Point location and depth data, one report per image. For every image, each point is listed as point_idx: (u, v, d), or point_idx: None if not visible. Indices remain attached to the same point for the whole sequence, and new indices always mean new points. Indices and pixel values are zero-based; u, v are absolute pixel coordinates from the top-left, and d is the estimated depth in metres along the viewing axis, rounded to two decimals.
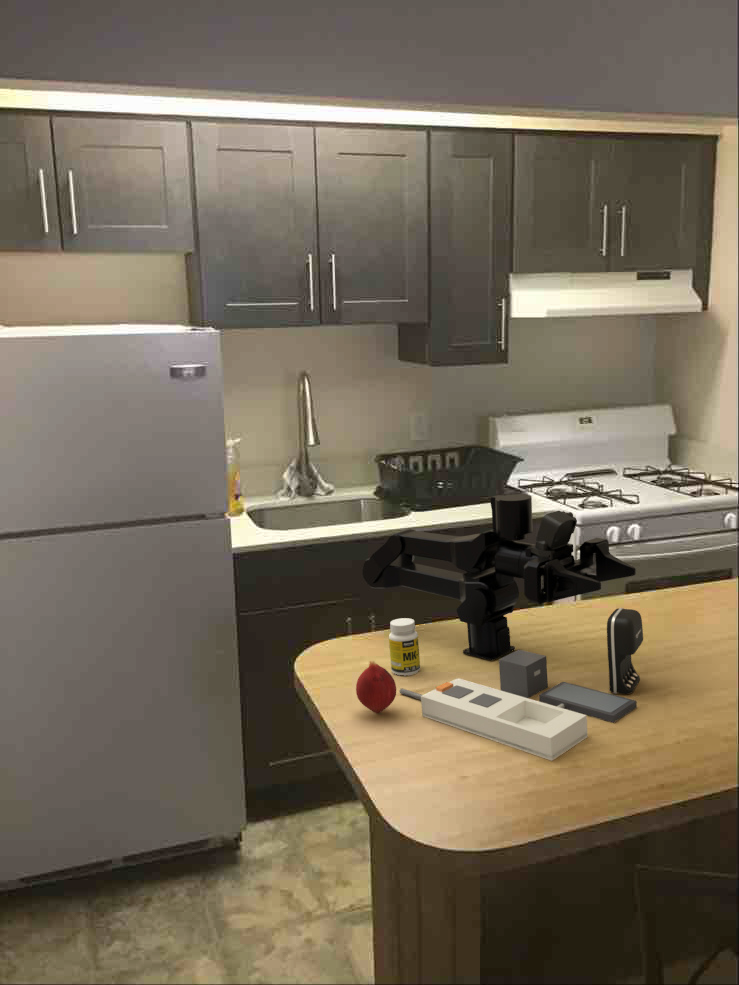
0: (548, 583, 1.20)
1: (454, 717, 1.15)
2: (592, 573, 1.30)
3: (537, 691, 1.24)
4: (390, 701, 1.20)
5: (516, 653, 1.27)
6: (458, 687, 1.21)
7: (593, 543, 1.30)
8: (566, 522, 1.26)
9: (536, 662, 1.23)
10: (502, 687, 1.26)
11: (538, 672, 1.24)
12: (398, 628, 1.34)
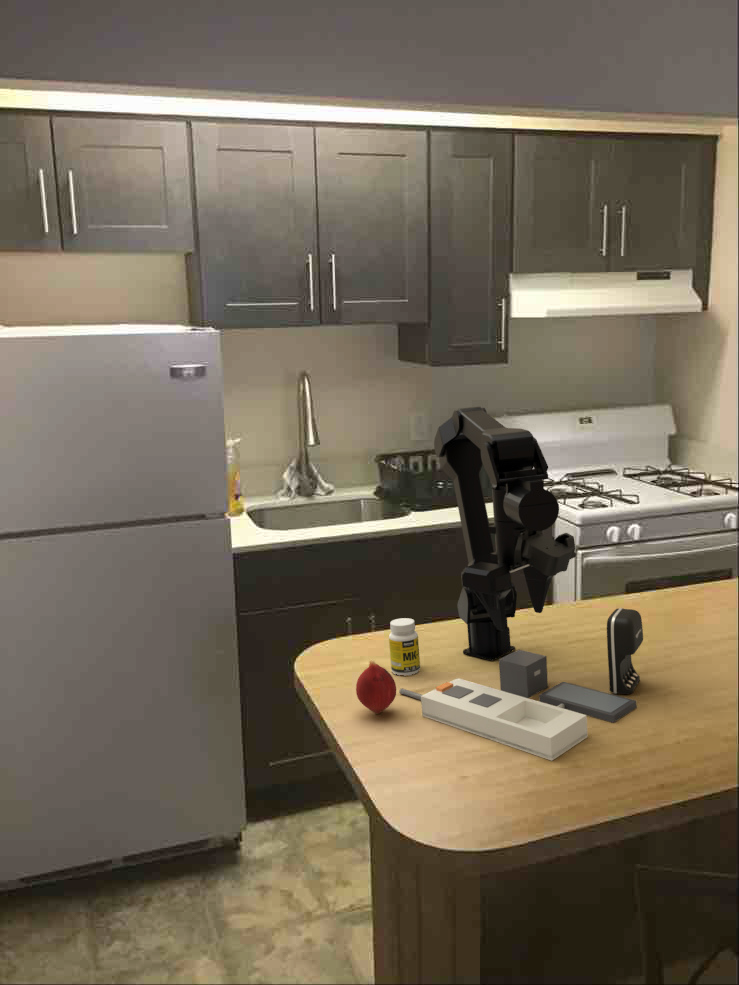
0: None
1: (454, 717, 1.15)
2: None
3: (537, 691, 1.24)
4: (390, 701, 1.20)
5: (516, 653, 1.27)
6: (458, 687, 1.21)
7: None
8: None
9: (536, 662, 1.23)
10: (502, 687, 1.26)
11: (538, 672, 1.24)
12: (398, 628, 1.34)
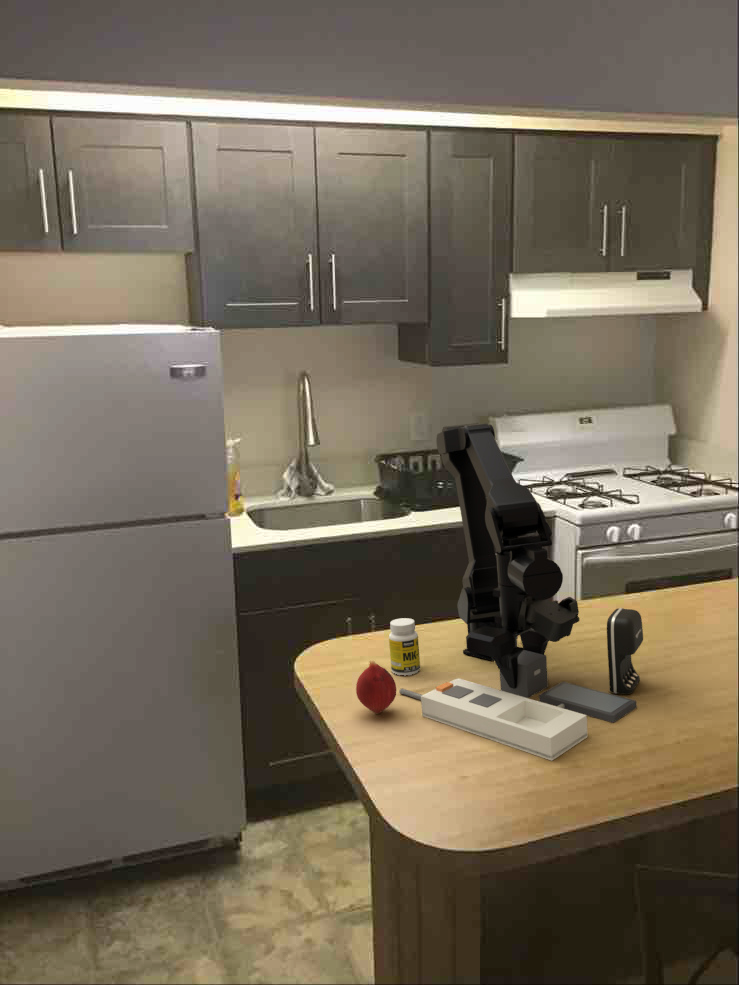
0: None
1: (454, 717, 1.15)
2: None
3: (537, 690, 1.24)
4: (390, 701, 1.20)
5: None
6: (458, 687, 1.21)
7: None
8: None
9: (536, 661, 1.23)
10: (502, 686, 1.26)
11: (538, 671, 1.24)
12: (398, 628, 1.34)
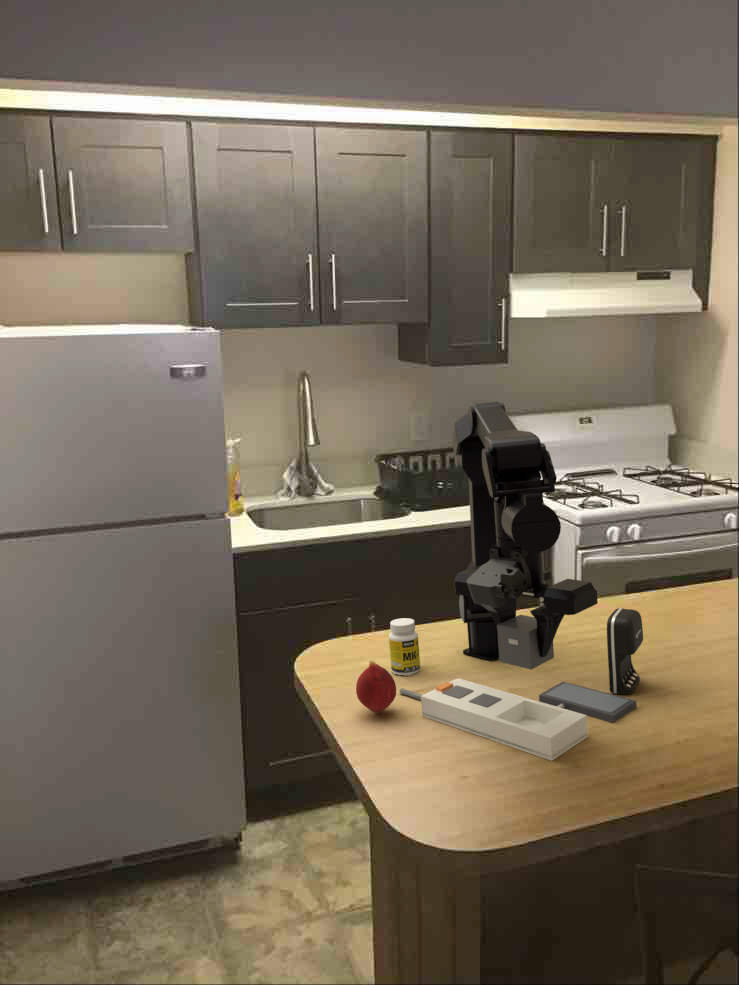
0: None
1: (454, 717, 1.15)
2: None
3: (513, 663, 1.07)
4: (390, 701, 1.20)
5: None
6: (458, 687, 1.21)
7: None
8: None
9: (512, 629, 1.07)
10: None
11: (515, 642, 1.07)
12: (398, 628, 1.34)
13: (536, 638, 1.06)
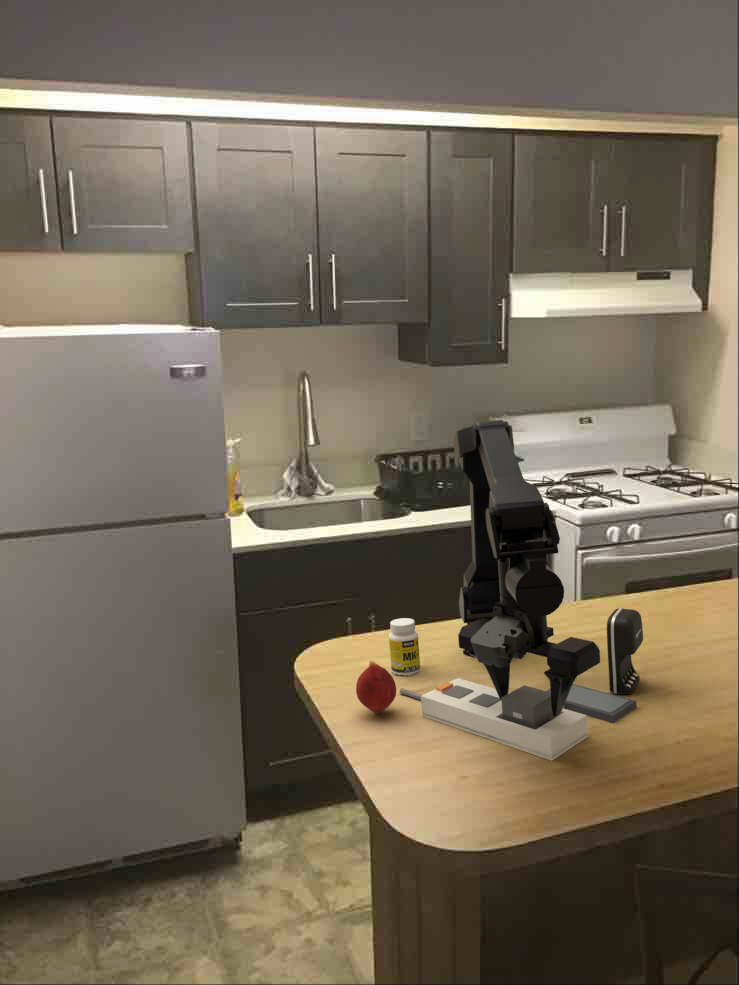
0: None
1: (454, 717, 1.15)
2: None
3: None
4: (390, 701, 1.20)
5: (542, 692, 1.10)
6: (458, 687, 1.21)
7: (550, 667, 1.03)
8: None
9: (517, 703, 1.08)
10: None
11: (519, 716, 1.08)
12: (398, 628, 1.34)
13: (540, 713, 1.08)
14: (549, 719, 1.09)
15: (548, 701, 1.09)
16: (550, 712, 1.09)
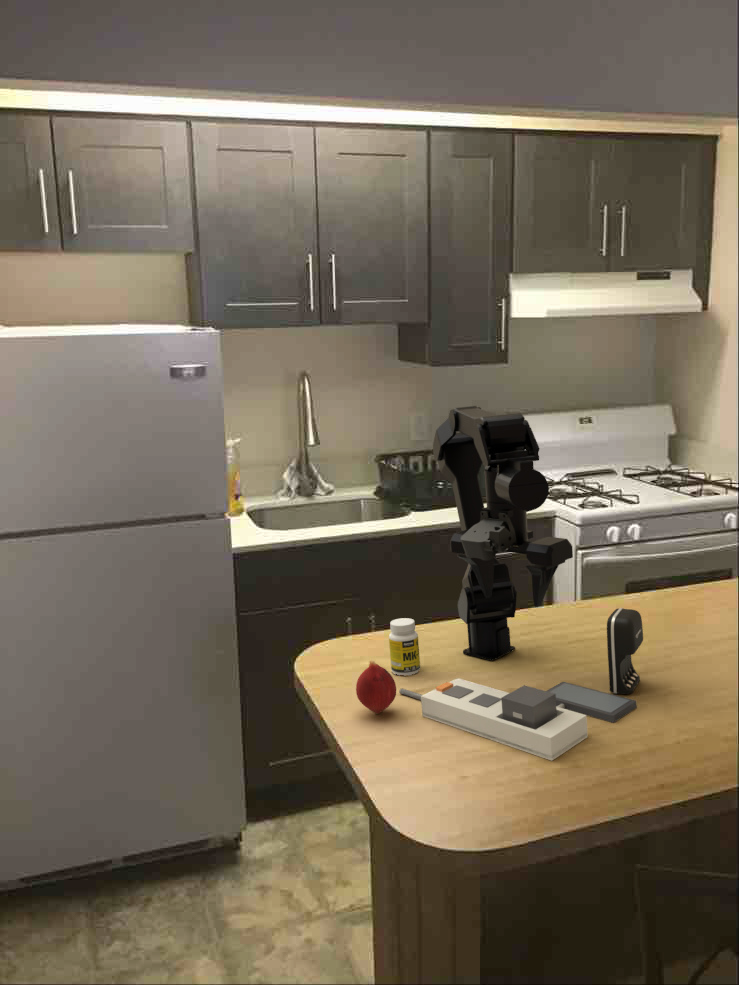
0: None
1: (454, 717, 1.15)
2: None
3: None
4: (390, 701, 1.20)
5: (542, 692, 1.10)
6: (458, 687, 1.21)
7: (529, 560, 1.19)
8: None
9: (517, 703, 1.08)
10: None
11: (519, 716, 1.08)
12: (398, 628, 1.34)
13: (540, 713, 1.08)
14: (549, 719, 1.09)
15: (548, 701, 1.09)
16: (550, 712, 1.09)
